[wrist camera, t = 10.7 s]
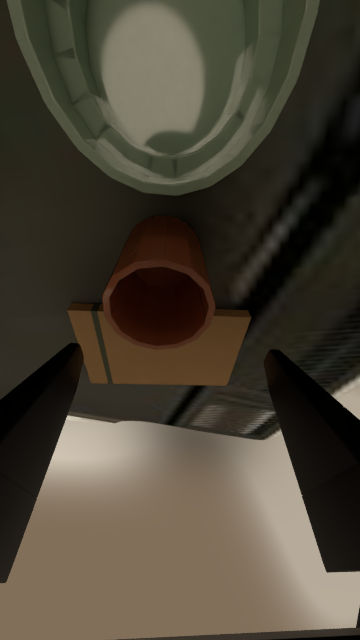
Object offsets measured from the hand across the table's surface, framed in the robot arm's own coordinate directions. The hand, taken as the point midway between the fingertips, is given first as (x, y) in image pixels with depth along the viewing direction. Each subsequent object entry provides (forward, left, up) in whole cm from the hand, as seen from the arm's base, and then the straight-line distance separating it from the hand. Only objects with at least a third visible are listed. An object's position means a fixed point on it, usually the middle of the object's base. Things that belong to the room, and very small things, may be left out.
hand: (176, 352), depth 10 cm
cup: (+1, +1, -11) cm, 11 cm away
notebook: (-9, +7, -11) cm, 16 cm away
